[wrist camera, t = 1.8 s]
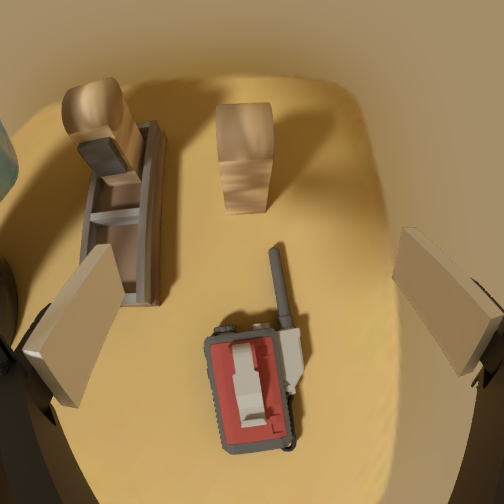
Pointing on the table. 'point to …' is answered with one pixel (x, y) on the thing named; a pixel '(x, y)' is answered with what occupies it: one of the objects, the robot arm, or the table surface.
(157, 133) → the rail
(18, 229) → the table surface
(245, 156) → the block
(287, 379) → the walkie-talkie
